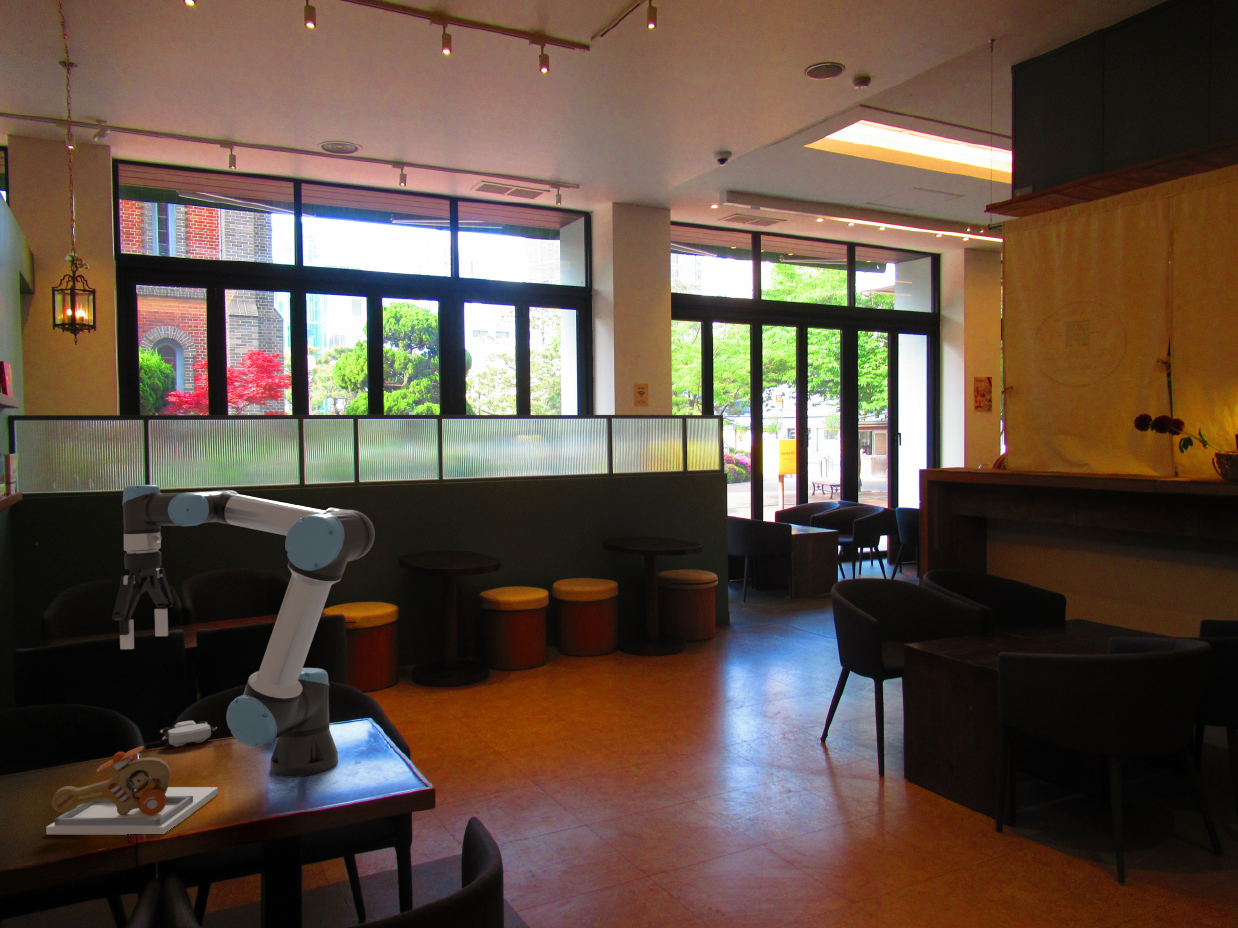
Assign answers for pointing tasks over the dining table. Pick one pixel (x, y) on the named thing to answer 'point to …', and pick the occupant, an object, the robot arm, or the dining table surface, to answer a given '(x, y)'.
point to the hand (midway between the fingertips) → (145, 642)
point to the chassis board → (132, 815)
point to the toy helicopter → (122, 786)
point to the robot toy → (187, 733)
